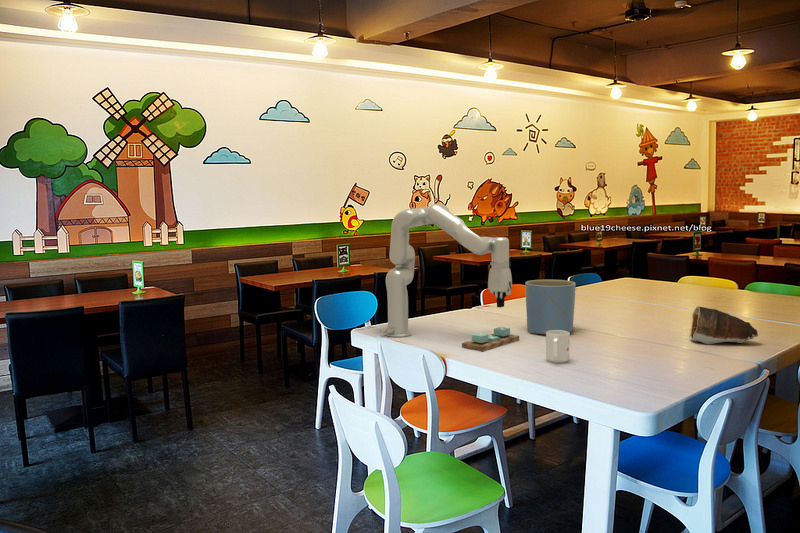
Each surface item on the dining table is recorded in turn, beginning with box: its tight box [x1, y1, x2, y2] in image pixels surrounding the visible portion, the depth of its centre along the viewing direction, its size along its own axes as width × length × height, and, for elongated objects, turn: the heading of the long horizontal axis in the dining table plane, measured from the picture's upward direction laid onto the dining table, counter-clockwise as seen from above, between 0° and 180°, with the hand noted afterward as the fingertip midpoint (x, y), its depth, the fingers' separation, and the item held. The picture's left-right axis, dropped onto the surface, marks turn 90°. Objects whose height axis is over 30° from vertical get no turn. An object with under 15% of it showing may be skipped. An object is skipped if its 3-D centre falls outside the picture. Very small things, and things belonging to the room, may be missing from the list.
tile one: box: [471, 332, 489, 343], centre depth 256 cm, size 5×5×3 cm
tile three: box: [493, 326, 511, 336], centre depth 268 cm, size 5×5×3 cm
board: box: [461, 333, 520, 353], centre depth 262 cm, size 27×11×2 cm, turn 136°
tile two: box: [488, 334, 499, 342], centre depth 262 cm, size 5×5×3 cm
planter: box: [524, 279, 577, 335], centre depth 282 cm, size 23×23×24 cm
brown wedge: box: [689, 306, 759, 345], centre depth 256 cm, size 15×15×25 cm
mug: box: [545, 330, 571, 364], centre depth 232 cm, size 12×9×11 cm
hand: (500, 306), depth 265 cm, fingers closed
